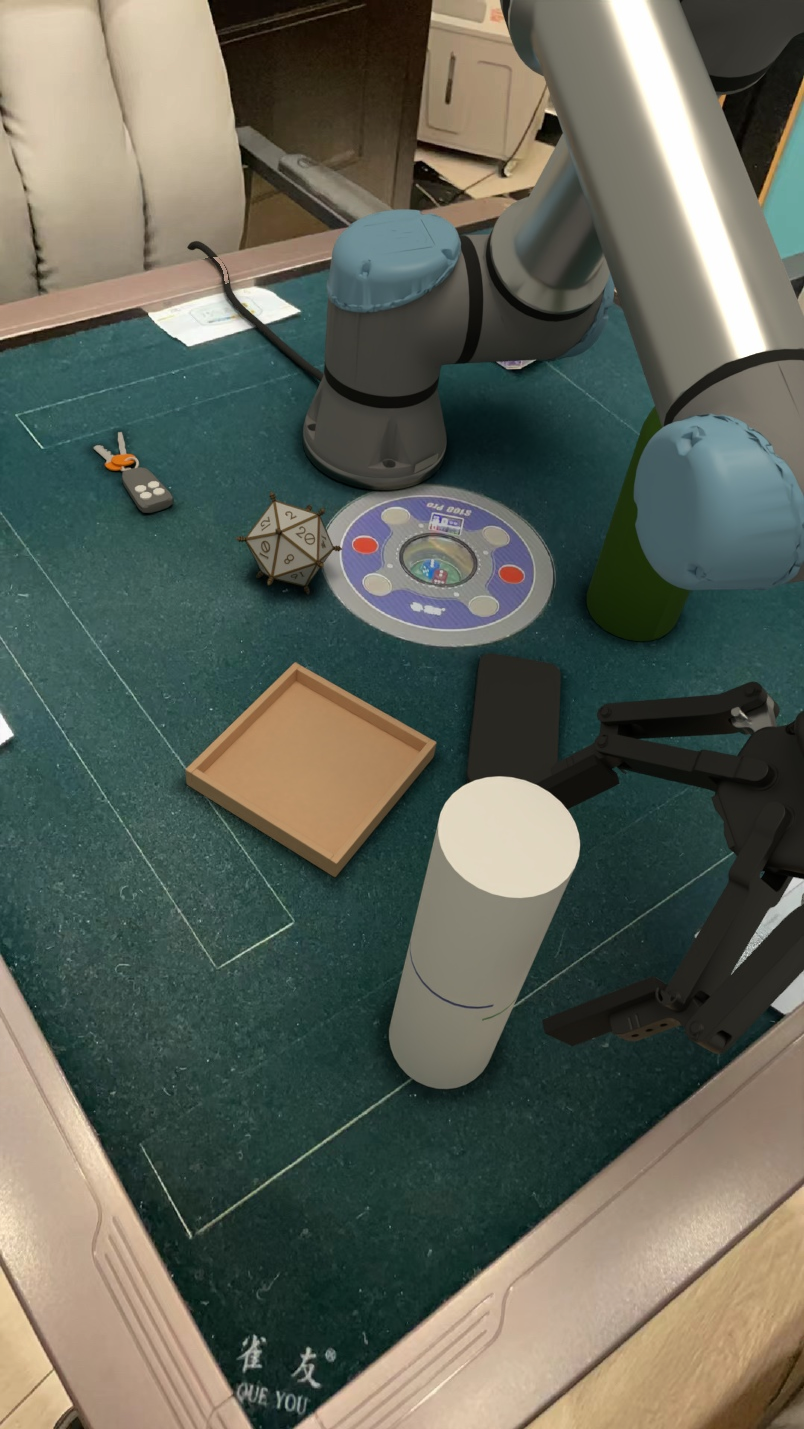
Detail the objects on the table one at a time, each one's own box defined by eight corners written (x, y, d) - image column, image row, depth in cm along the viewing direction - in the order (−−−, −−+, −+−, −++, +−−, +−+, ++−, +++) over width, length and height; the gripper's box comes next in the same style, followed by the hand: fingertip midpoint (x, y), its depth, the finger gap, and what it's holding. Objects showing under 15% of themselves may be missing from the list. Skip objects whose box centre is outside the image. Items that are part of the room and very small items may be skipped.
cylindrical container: (385, 988, 73) (431, 776, 54) (485, 985, 74) (565, 776, 55) (393, 1091, 68) (446, 899, 49) (500, 1086, 69) (592, 896, 50)
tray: (186, 784, 82) (185, 769, 81) (294, 677, 90) (295, 661, 89) (335, 877, 78) (336, 863, 77) (433, 757, 86) (436, 742, 85)
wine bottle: (694, 611, 101) (836, 294, 76) (643, 657, 97) (776, 335, 72) (619, 563, 105) (732, 244, 80) (566, 605, 100) (668, 280, 75)
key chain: (178, 506, 103) (177, 494, 102) (142, 517, 101) (141, 505, 100) (121, 434, 109) (120, 422, 108) (87, 443, 108) (85, 431, 106)
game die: (305, 597, 102) (374, 531, 97) (273, 629, 95) (345, 559, 90) (240, 529, 101) (306, 459, 96) (202, 556, 93) (271, 481, 89)
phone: (562, 664, 94) (557, 798, 84) (560, 670, 94) (554, 804, 84) (480, 650, 94) (465, 783, 84) (478, 657, 94) (463, 789, 84)
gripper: (1053, 1022, 44) (617, 1158, 53) (839, 604, 60) (531, 765, 69) (1008, 970, 39) (537, 1130, 49) (789, 531, 55) (464, 715, 64)
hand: (533, 916), depth 59 cm, fingers open, 13 cm apart
